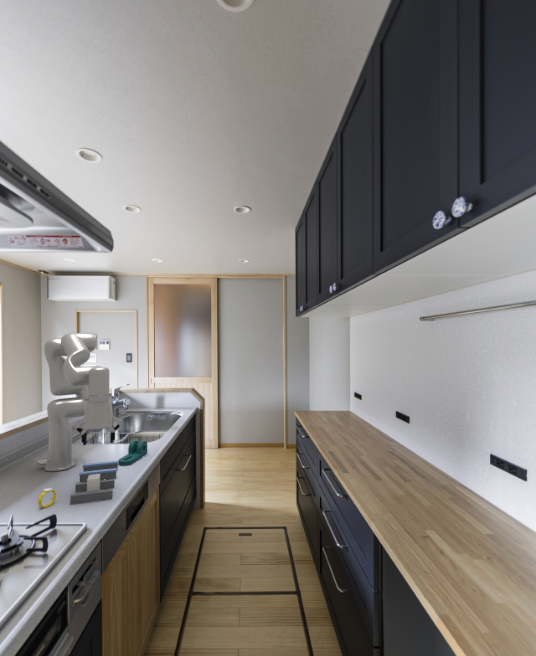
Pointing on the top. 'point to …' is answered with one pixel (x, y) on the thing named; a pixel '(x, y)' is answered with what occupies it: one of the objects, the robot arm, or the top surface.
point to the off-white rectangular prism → (93, 483)
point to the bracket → (134, 453)
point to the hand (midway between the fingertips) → (98, 443)
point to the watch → (44, 494)
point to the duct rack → (106, 472)
